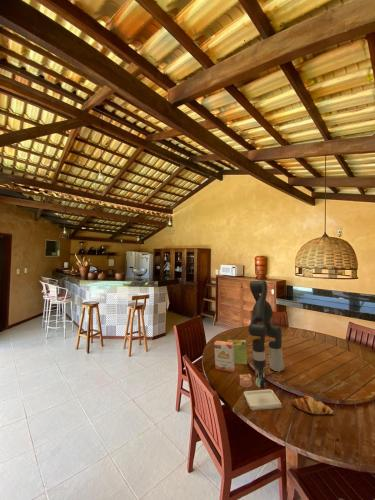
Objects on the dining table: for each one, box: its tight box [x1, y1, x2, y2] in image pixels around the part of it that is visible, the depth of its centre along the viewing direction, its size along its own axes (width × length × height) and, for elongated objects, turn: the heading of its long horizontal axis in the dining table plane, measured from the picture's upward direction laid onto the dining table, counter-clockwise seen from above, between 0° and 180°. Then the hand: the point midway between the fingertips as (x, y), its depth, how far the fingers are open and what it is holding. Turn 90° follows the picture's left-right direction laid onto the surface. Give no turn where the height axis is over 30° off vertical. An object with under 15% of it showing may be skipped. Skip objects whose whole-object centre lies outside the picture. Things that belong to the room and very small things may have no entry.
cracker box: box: [213, 340, 236, 373], centre depth 178 cm, size 14×6×21 cm, turn 65°
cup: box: [239, 373, 253, 388], centre depth 157 cm, size 8×8×5 cm
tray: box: [243, 388, 283, 411], centre depth 138 cm, size 18×14×2 cm
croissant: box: [290, 395, 334, 415], centre depth 129 cm, size 21×10×8 cm, turn 64°
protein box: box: [227, 339, 248, 365], centre depth 190 cm, size 10×15×16 cm
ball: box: [255, 376, 266, 388], centre depth 138 cm, size 6×6×6 cm
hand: (260, 385), depth 138 cm, fingers closed on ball, 5 cm apart
